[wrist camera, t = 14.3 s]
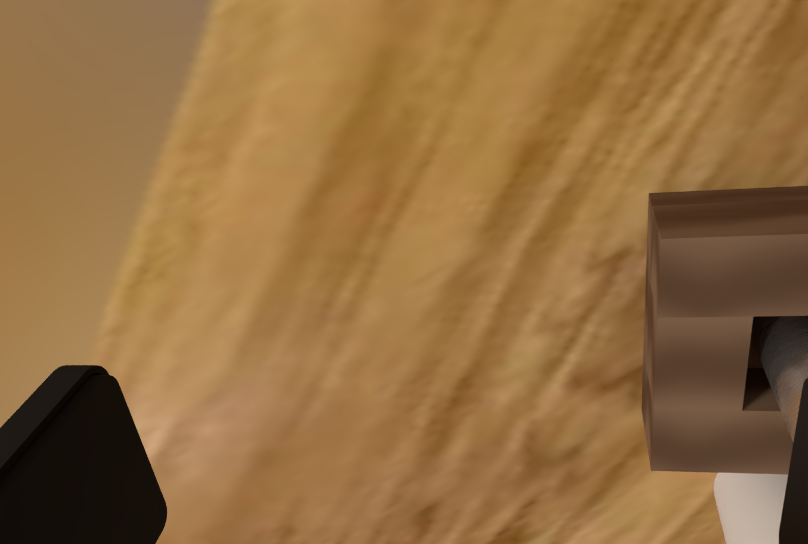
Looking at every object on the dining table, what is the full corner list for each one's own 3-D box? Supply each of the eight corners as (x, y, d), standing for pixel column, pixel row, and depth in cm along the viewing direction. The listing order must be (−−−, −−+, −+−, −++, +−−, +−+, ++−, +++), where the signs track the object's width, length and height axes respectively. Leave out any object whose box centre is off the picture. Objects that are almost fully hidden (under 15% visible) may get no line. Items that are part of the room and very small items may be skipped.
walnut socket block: (649, 193, 37) (661, 238, 33) (964, 178, 34) (1023, 226, 30) (641, 409, 44) (651, 470, 40) (905, 413, 41) (946, 479, 37)
